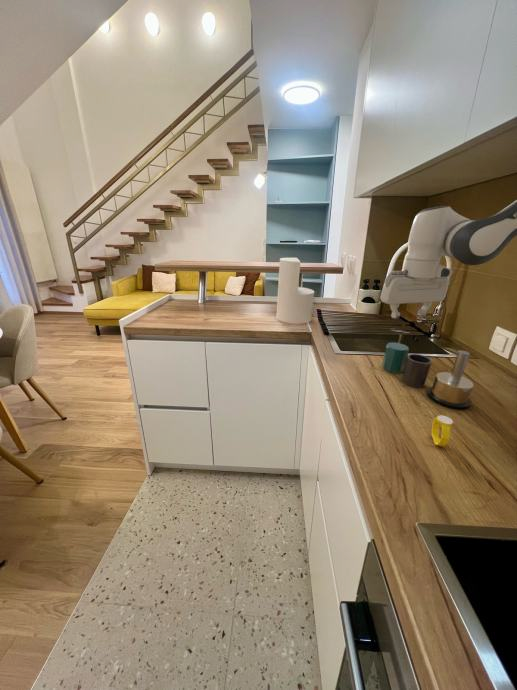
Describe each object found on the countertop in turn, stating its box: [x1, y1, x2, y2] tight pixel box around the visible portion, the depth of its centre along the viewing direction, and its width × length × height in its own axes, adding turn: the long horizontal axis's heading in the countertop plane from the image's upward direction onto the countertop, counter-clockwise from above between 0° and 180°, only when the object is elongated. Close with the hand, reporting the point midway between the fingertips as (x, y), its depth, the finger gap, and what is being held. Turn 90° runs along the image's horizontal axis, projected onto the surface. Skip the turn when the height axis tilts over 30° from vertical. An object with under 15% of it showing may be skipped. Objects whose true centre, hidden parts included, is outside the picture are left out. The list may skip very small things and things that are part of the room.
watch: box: [431, 414, 454, 447], centre depth 59 cm, size 6×3×6 cm, turn 163°
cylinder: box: [275, 257, 315, 325], centre depth 133 cm, size 17×17×28 cm
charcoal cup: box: [400, 353, 433, 389], centre depth 82 cm, size 6×6×8 cm
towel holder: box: [426, 349, 475, 411], centre depth 73 cm, size 10×10×14 cm
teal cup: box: [381, 342, 410, 374], centre depth 90 cm, size 6×6×8 cm
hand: (408, 316), depth 84 cm, fingers open, 8 cm apart
